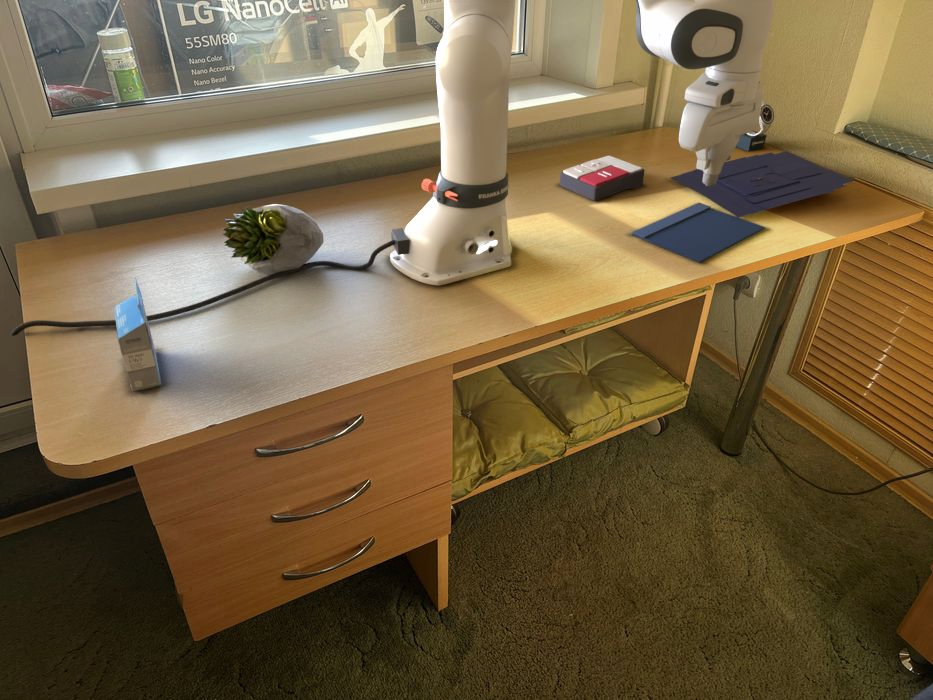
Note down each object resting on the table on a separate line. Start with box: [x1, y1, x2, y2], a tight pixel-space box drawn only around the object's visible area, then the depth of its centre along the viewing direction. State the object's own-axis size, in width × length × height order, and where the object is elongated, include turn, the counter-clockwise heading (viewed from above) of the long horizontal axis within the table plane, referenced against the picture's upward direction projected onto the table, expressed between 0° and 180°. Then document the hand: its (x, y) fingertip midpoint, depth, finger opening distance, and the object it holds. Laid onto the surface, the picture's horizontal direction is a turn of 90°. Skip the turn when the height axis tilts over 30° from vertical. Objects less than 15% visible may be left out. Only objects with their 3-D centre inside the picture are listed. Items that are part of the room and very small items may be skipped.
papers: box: [669, 150, 856, 218], centre depth 152 cm, size 24×30×4 cm
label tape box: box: [113, 275, 162, 392], centre depth 93 cm, size 9×4×12 cm, turn 25°
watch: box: [735, 100, 775, 152], centre depth 174 cm, size 6×8×11 cm
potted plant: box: [222, 203, 324, 276], centre depth 118 cm, size 12×13×15 cm
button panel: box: [559, 155, 646, 202], centre depth 154 cm, size 11×4×15 cm
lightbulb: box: [702, 132, 736, 187], centre depth 127 cm, size 6×6×11 cm
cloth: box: [631, 202, 766, 264], centre depth 135 cm, size 22×15×1 cm
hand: (713, 164), depth 128 cm, fingers closed on lightbulb, 6 cm apart
